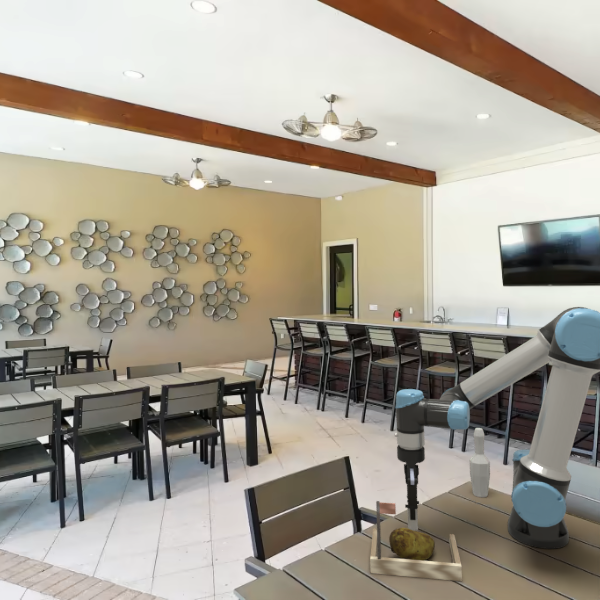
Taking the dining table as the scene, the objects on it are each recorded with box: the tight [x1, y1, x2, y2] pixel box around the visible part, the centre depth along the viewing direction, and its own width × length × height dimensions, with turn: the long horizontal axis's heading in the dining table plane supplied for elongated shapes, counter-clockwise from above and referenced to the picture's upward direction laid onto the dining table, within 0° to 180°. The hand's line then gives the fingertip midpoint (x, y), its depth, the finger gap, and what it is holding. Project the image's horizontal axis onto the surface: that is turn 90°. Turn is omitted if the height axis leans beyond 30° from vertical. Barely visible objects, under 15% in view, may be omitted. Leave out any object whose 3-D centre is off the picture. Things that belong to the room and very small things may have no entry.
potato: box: [388, 527, 435, 561], centre depth 122 cm, size 8×13×8 cm, turn 98°
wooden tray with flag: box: [369, 500, 463, 582], centre depth 122 cm, size 21×15×18 cm
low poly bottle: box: [469, 427, 491, 498], centre depth 159 cm, size 6×6×22 cm
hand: (412, 528), depth 134 cm, fingers closed
